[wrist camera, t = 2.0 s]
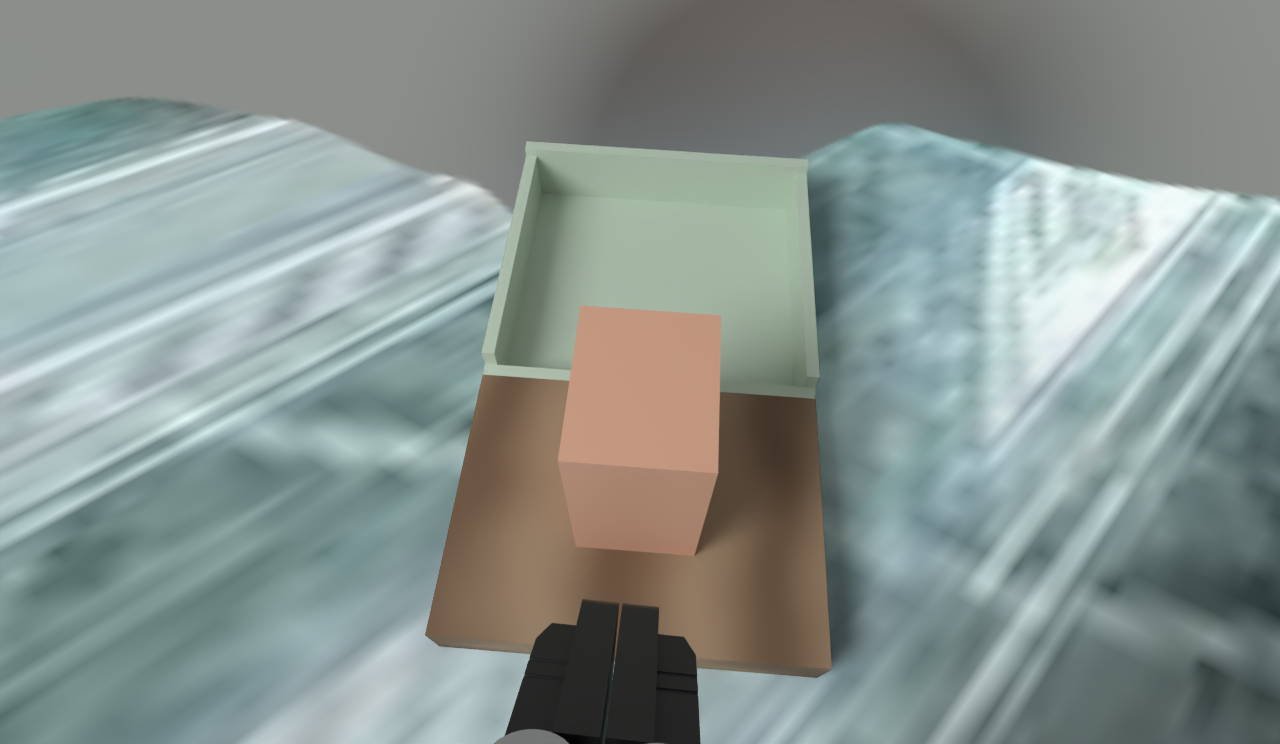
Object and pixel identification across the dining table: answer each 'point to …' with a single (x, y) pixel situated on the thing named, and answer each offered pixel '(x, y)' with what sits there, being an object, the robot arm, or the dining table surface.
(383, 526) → the dining table surface
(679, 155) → the tray
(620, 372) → the salmon-coloured block
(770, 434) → the board
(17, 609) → the dining table surface
